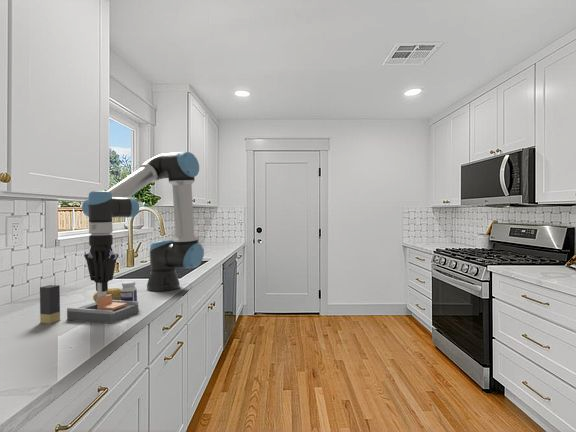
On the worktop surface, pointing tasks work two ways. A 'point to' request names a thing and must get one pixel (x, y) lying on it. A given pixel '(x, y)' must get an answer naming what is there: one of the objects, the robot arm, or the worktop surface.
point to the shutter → (108, 303)
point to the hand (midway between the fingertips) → (102, 300)
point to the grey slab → (102, 312)
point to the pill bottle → (129, 291)
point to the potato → (115, 293)
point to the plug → (49, 304)
